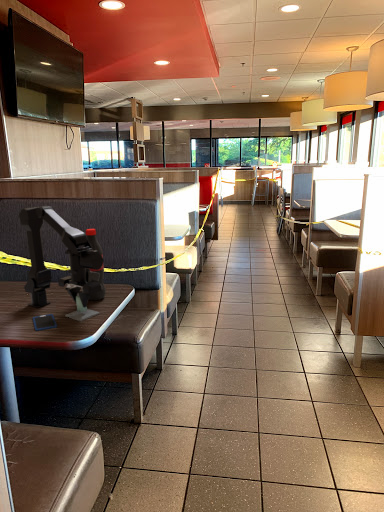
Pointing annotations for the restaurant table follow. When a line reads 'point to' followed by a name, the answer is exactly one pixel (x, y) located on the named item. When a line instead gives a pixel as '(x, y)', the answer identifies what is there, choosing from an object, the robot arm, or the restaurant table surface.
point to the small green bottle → (80, 304)
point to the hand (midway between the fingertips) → (81, 306)
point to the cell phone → (44, 322)
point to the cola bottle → (96, 246)
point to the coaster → (82, 315)
